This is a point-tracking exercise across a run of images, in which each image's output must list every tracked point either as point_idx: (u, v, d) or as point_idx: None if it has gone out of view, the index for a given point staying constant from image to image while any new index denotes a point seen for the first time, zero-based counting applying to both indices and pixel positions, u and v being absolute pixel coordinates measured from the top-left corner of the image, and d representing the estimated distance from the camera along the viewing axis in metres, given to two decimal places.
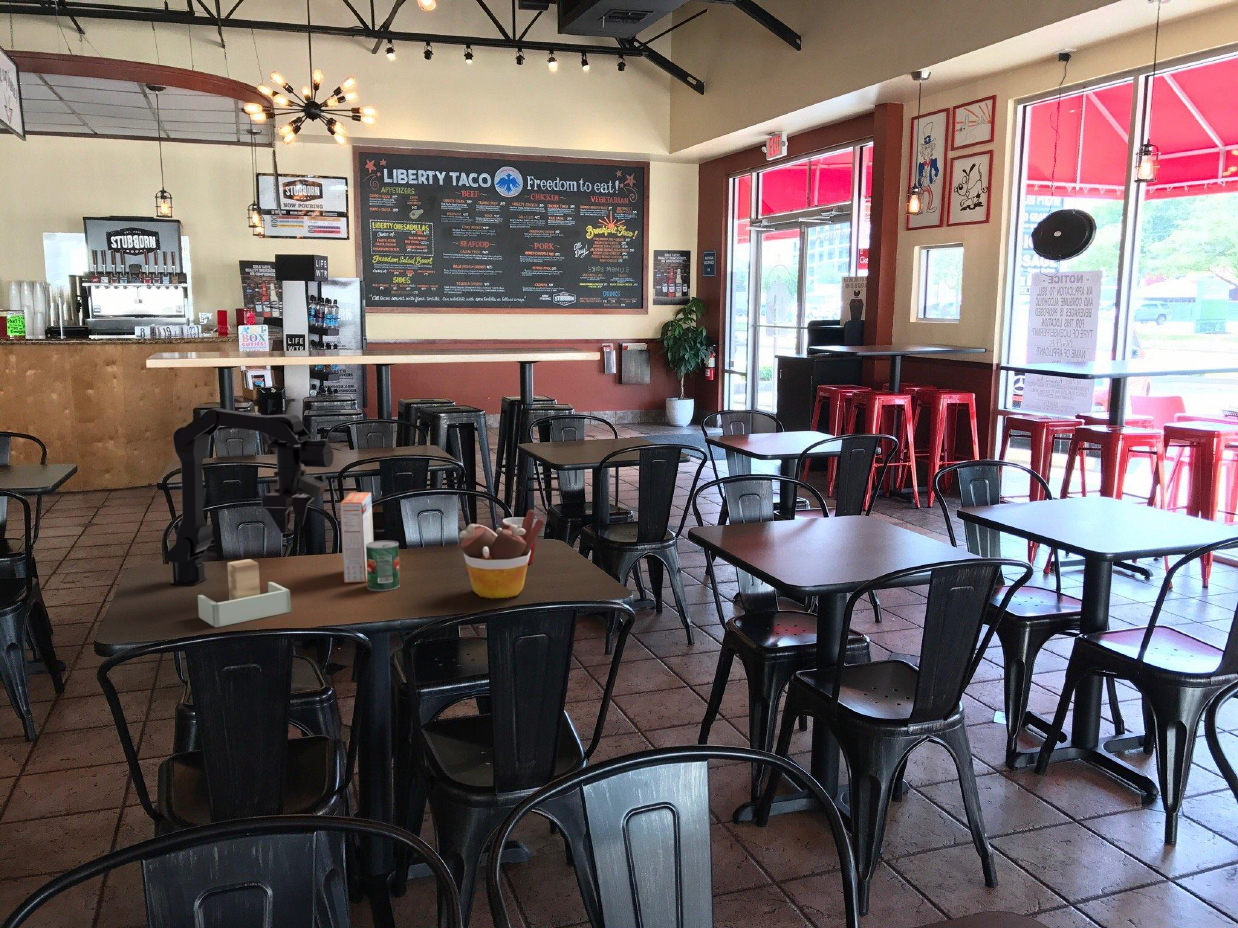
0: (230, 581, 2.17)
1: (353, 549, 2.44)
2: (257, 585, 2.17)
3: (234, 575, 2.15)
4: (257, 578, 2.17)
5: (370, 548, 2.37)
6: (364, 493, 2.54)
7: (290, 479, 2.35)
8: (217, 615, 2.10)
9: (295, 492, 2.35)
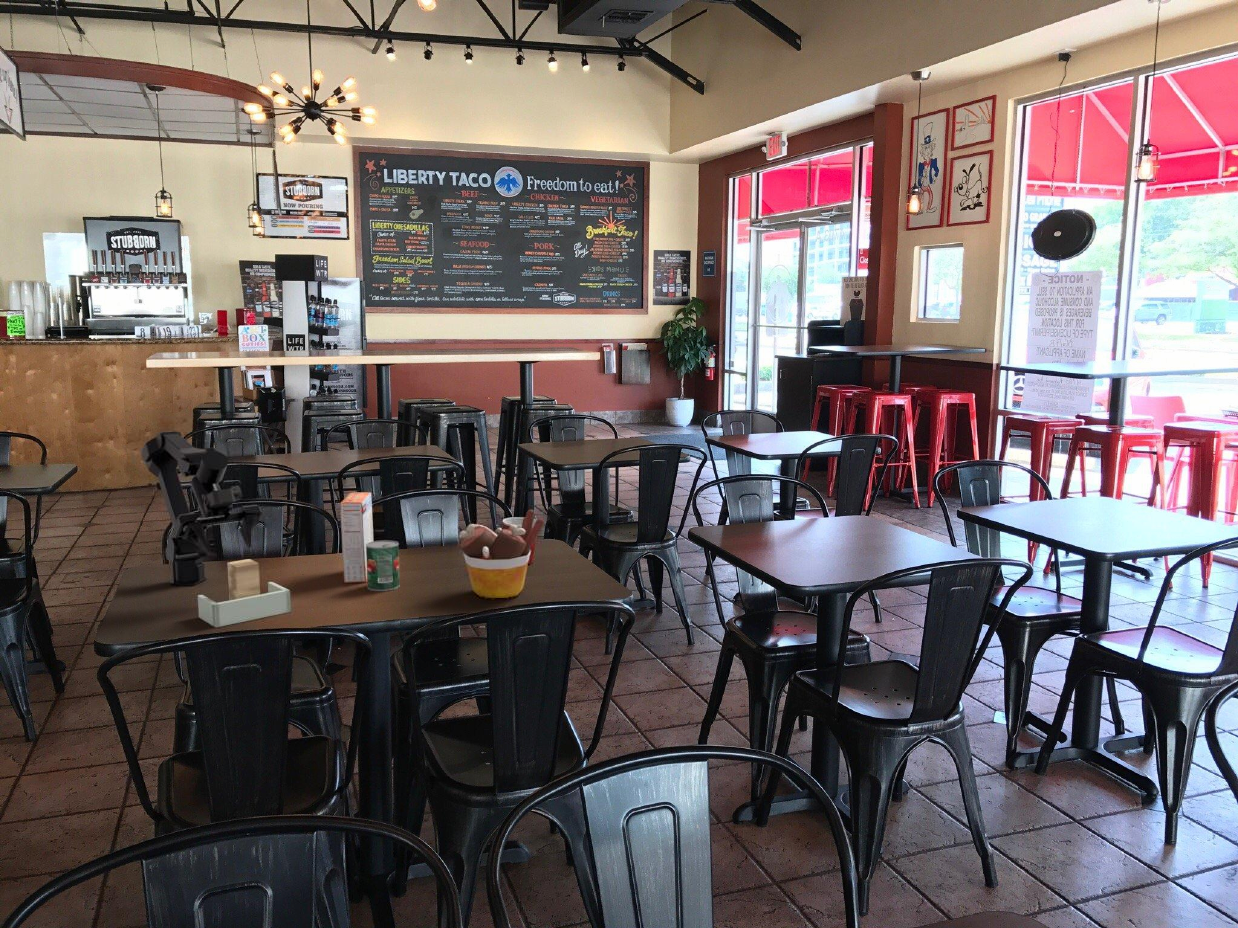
0: (230, 581, 2.17)
1: (353, 549, 2.44)
2: (257, 585, 2.17)
3: (234, 575, 2.15)
4: (257, 578, 2.17)
5: (370, 548, 2.37)
6: (364, 493, 2.54)
7: (203, 503, 2.25)
8: (217, 615, 2.10)
9: (206, 510, 2.23)
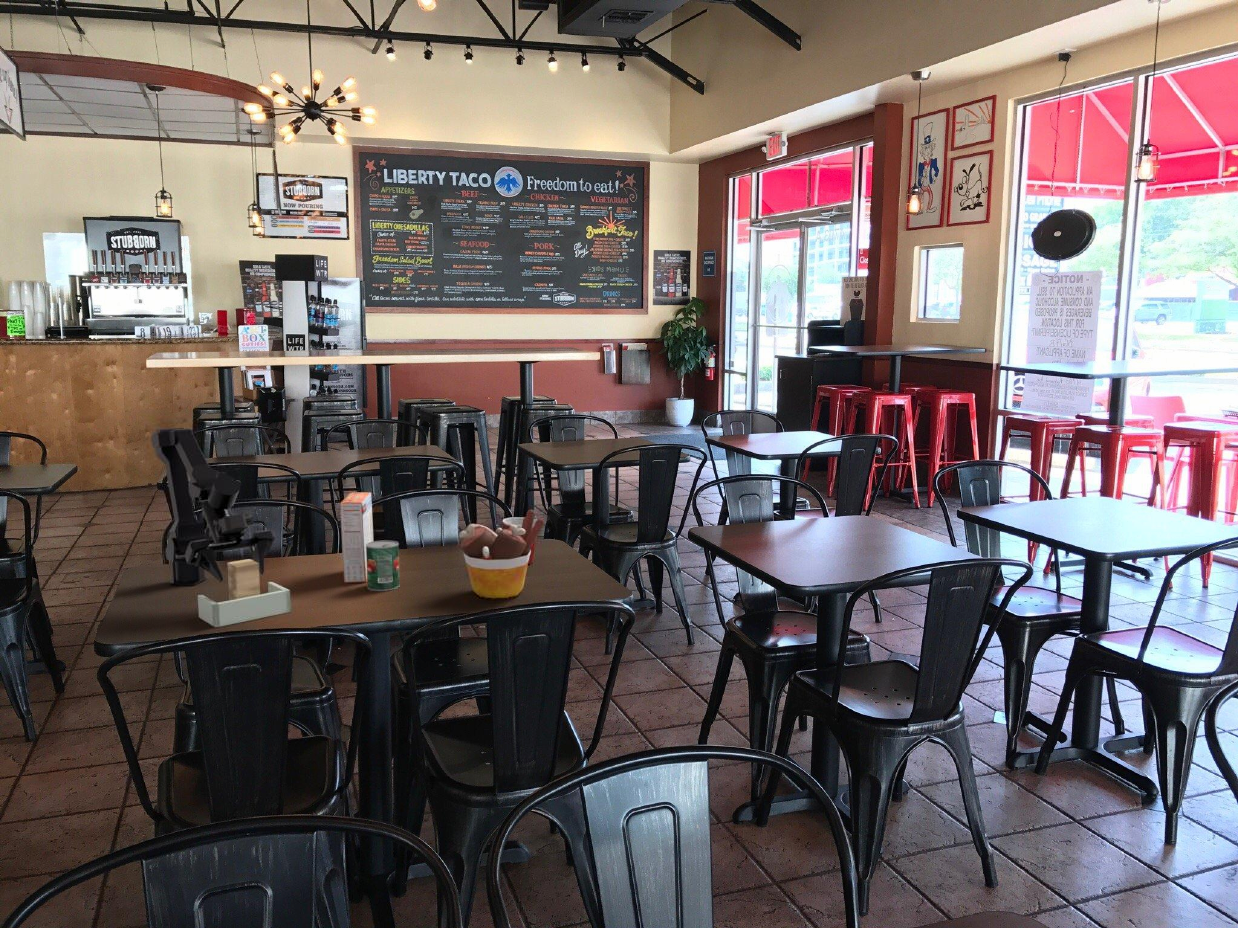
0: (230, 581, 2.17)
1: (353, 549, 2.44)
2: (257, 585, 2.17)
3: (234, 575, 2.15)
4: (257, 578, 2.17)
5: (370, 548, 2.37)
6: (364, 493, 2.54)
7: (215, 529, 2.21)
8: (217, 615, 2.10)
9: (218, 537, 2.19)
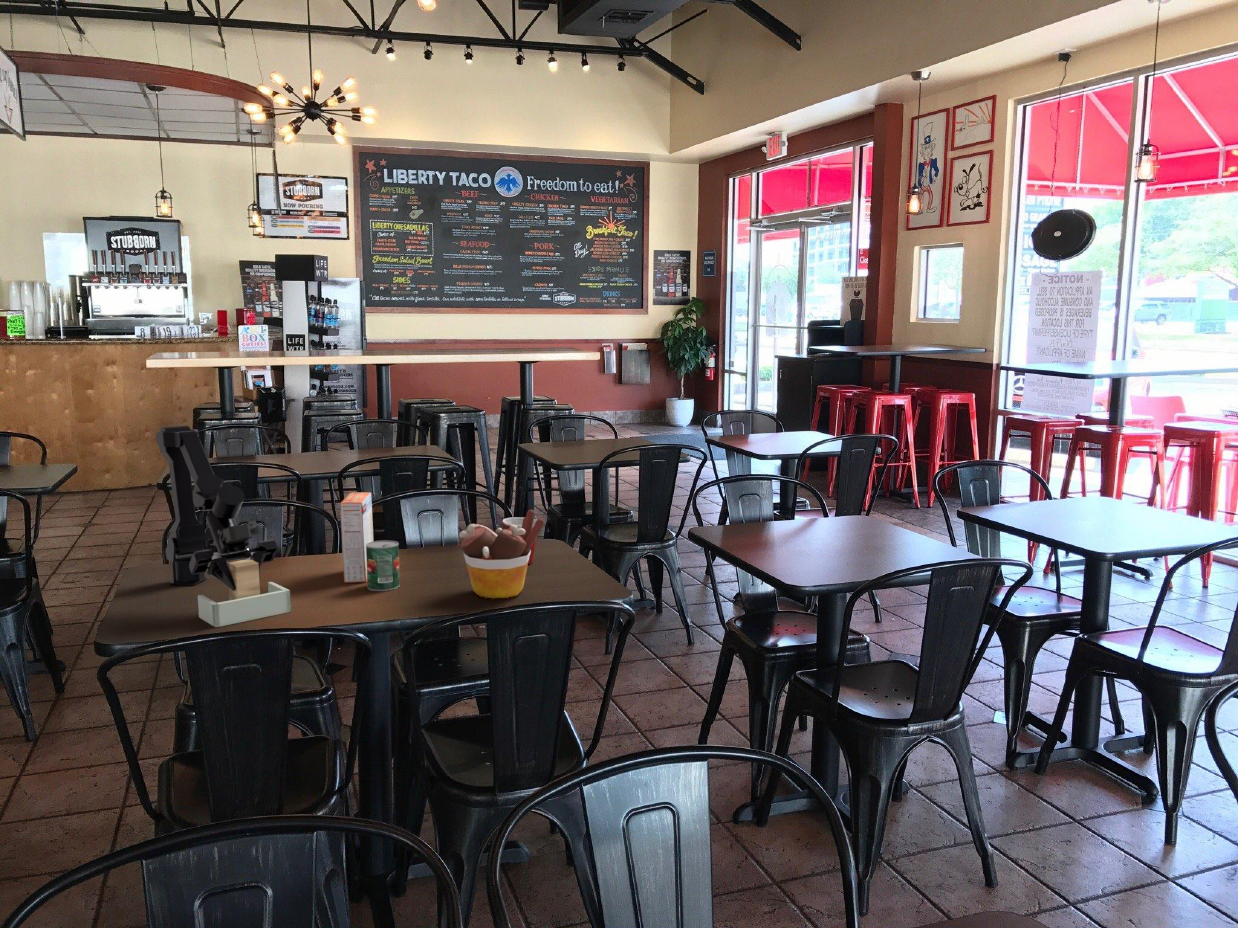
0: None
1: (353, 549, 2.44)
2: (257, 585, 2.17)
3: (234, 575, 2.15)
4: (257, 578, 2.17)
5: (370, 548, 2.37)
6: (364, 493, 2.54)
7: (219, 539, 2.20)
8: (217, 615, 2.10)
9: (222, 547, 2.17)
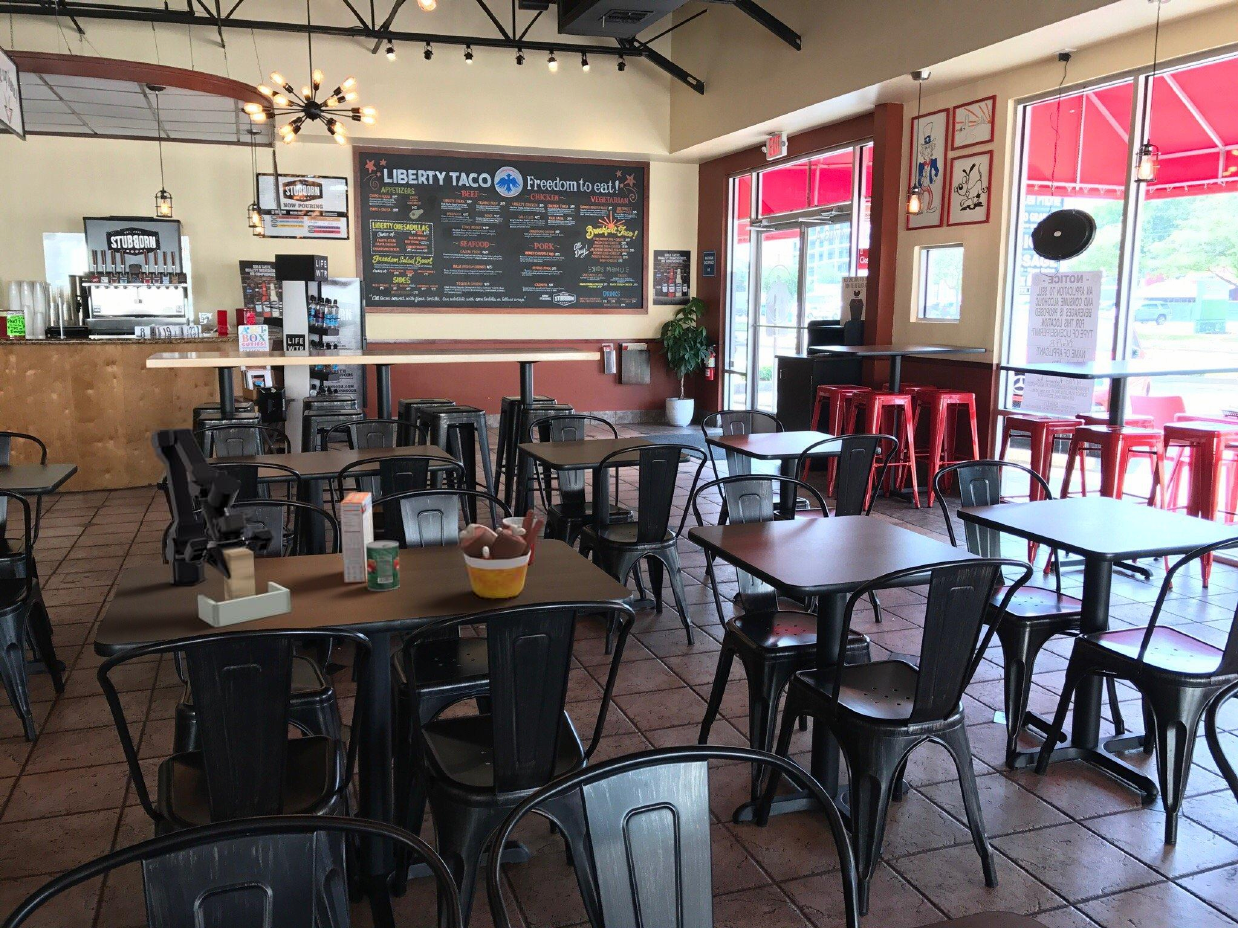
0: None
1: (353, 549, 2.44)
2: (252, 574, 2.19)
3: (229, 564, 2.16)
4: (252, 567, 2.19)
5: (370, 548, 2.37)
6: (364, 493, 2.54)
7: (214, 528, 2.21)
8: (217, 615, 2.10)
9: (218, 535, 2.19)
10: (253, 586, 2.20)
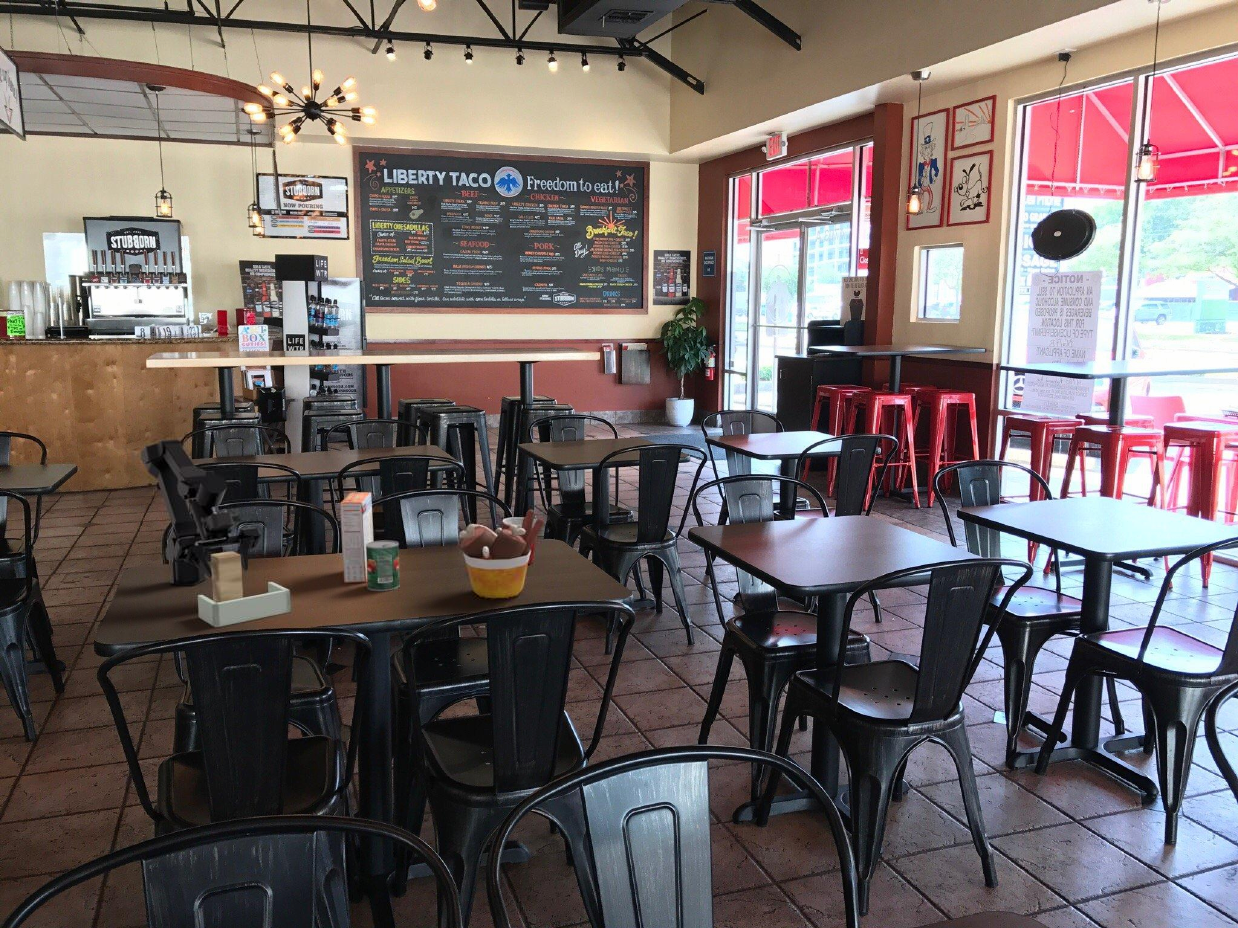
0: (213, 572, 2.24)
1: (353, 549, 2.44)
2: (239, 576, 2.25)
3: (217, 566, 2.22)
4: (239, 569, 2.25)
5: (370, 548, 2.37)
6: (364, 493, 2.54)
7: (202, 526, 2.27)
8: (217, 615, 2.10)
9: (205, 534, 2.24)
10: (241, 588, 2.25)
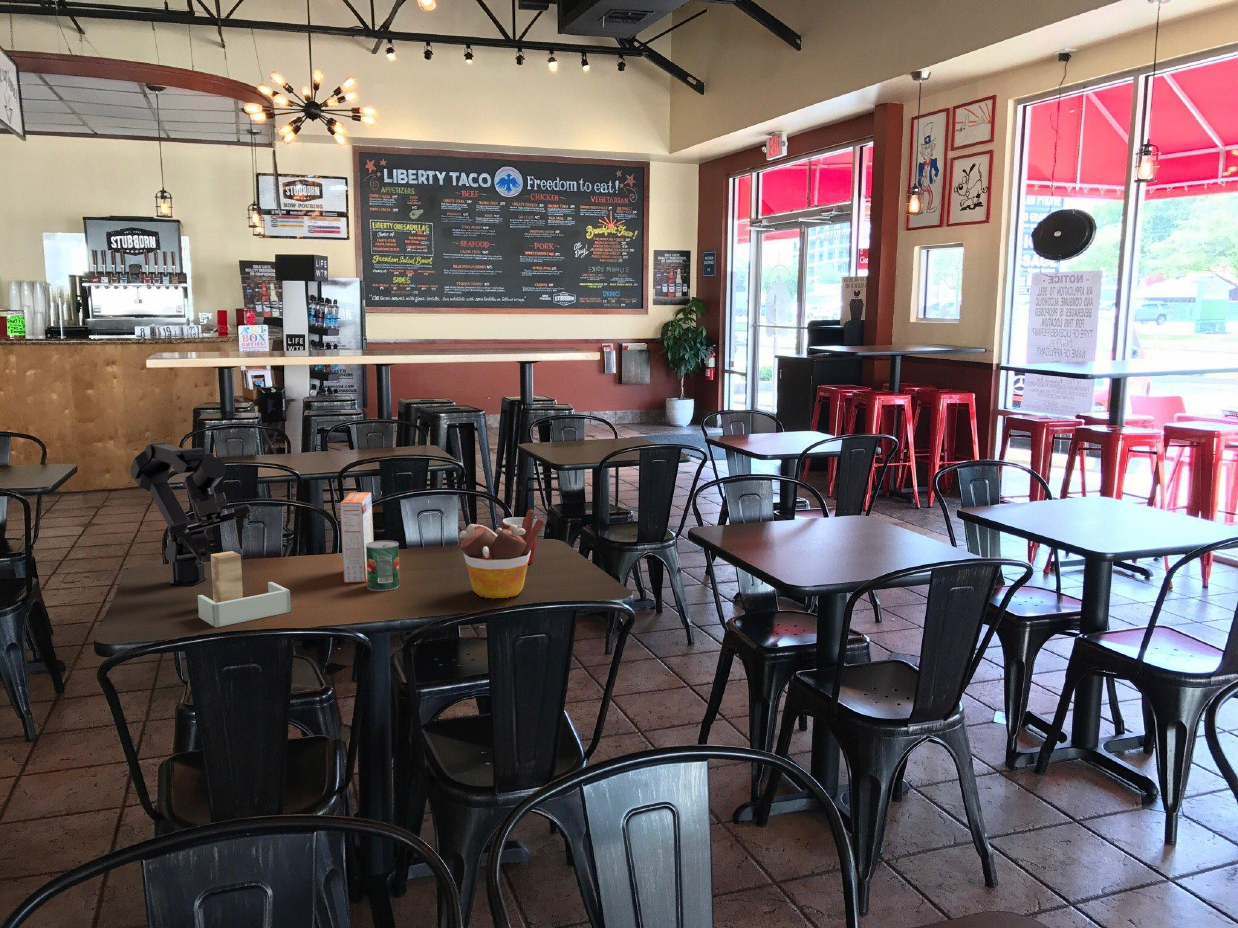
0: (213, 572, 2.24)
1: (353, 549, 2.44)
2: (240, 576, 2.25)
3: (217, 566, 2.22)
4: (239, 569, 2.25)
5: (370, 548, 2.37)
6: (364, 493, 2.54)
7: None
8: (217, 615, 2.10)
9: (196, 518, 2.30)
10: (241, 588, 2.25)
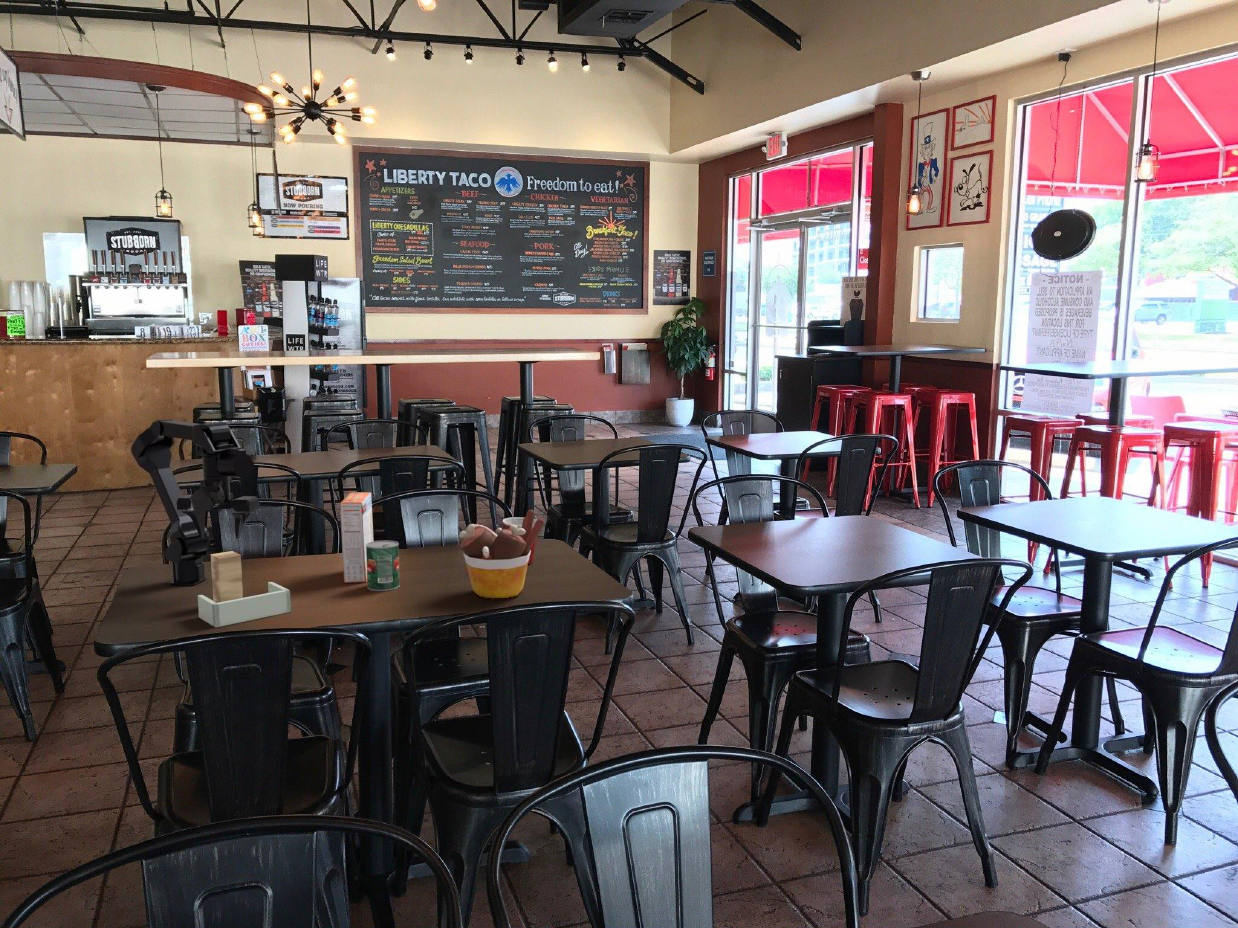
0: (213, 572, 2.24)
1: (353, 549, 2.44)
2: (240, 576, 2.25)
3: (217, 566, 2.22)
4: (239, 569, 2.25)
5: (370, 548, 2.37)
6: (364, 493, 2.54)
7: None
8: (217, 615, 2.10)
9: None
10: (241, 588, 2.25)
